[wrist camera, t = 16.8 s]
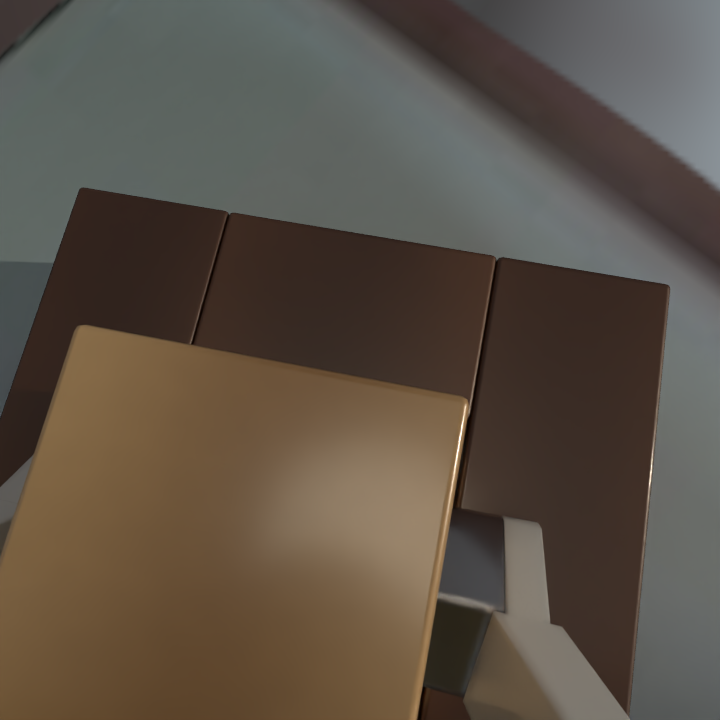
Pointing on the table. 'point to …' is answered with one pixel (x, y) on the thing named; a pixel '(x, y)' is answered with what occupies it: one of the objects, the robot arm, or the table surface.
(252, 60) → the table surface
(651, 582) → the table surface
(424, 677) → the robot arm
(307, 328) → the socket block
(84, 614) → the peg
